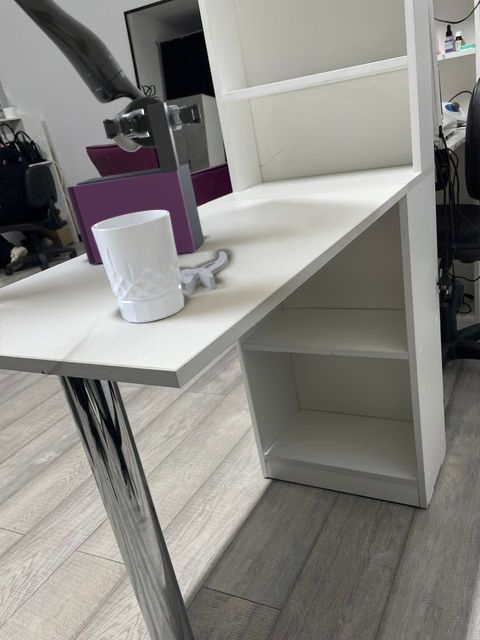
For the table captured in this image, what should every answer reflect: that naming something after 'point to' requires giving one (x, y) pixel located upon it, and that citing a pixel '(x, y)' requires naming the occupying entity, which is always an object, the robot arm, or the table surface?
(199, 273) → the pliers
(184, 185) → the file box
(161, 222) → the white cup
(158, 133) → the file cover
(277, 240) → the table surface
